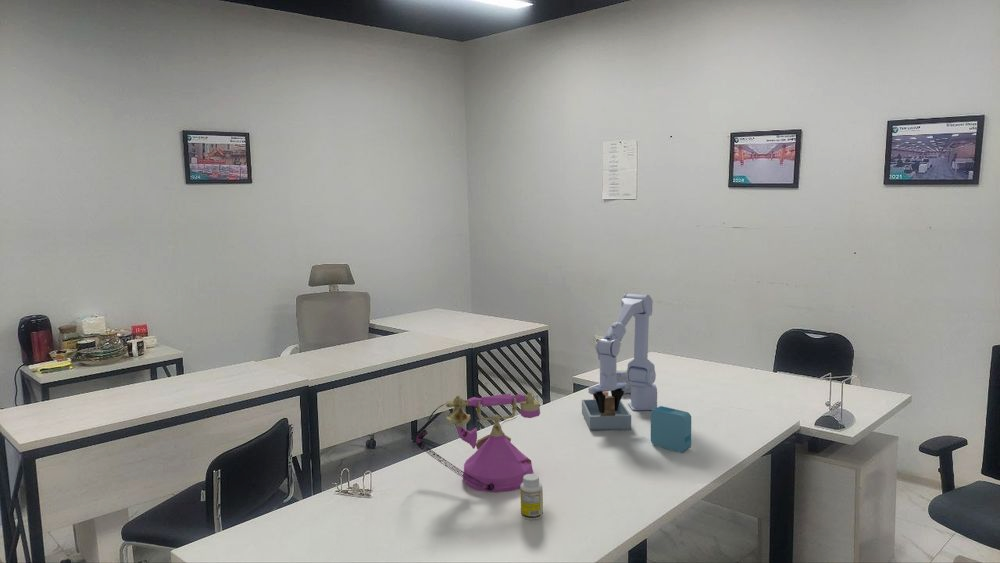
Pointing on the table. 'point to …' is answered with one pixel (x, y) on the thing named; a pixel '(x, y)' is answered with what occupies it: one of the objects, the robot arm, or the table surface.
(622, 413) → the tote
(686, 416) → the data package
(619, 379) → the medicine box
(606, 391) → the terracotta cube
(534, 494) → the supplement bottle
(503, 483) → the telephone
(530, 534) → the table surface
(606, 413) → the walnut cylinder
